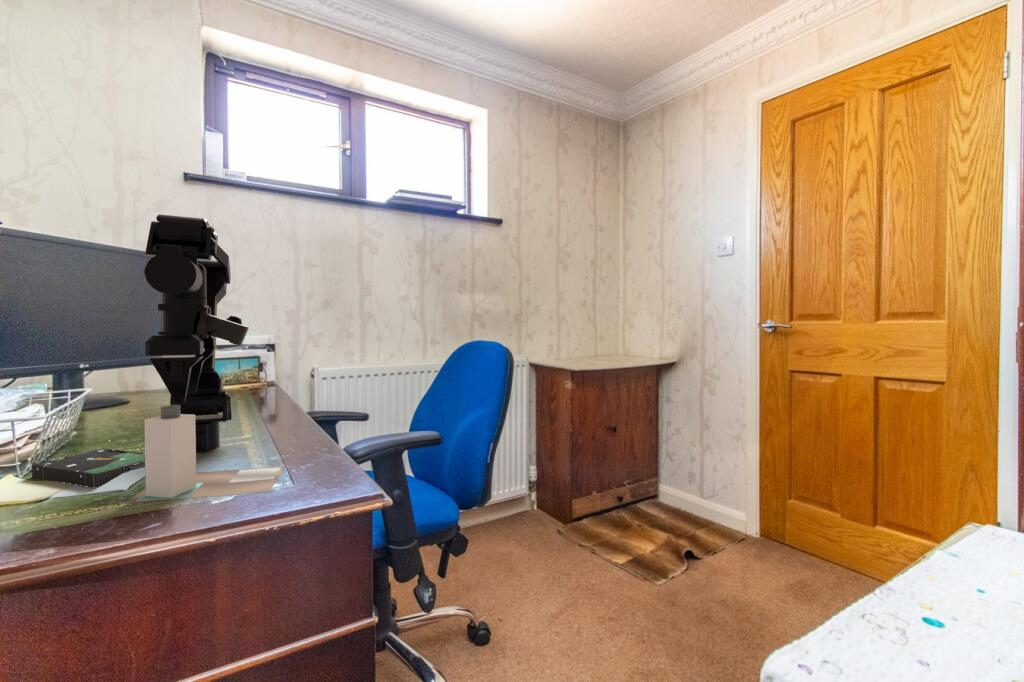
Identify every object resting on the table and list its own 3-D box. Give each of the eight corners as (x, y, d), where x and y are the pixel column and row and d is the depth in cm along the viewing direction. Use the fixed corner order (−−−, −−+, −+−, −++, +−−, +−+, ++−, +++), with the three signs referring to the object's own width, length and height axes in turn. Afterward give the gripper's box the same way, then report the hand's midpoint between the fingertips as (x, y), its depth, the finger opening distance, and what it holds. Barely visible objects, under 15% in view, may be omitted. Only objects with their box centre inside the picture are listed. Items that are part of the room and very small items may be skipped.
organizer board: (164, 482, 71) (164, 474, 71) (285, 473, 76) (285, 465, 75) (124, 513, 59) (123, 504, 59) (269, 500, 64) (269, 491, 64)
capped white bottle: (171, 485, 66) (170, 403, 65) (196, 487, 65) (195, 404, 65) (145, 495, 62) (144, 408, 61) (172, 497, 61) (170, 409, 61)
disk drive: (29, 482, 72) (95, 491, 68) (28, 464, 72) (94, 473, 68) (104, 462, 82) (165, 470, 78) (103, 447, 82) (164, 453, 78)
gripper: (240, 297, 66) (241, 404, 66) (248, 302, 82) (249, 388, 83) (143, 294, 61) (145, 410, 61) (173, 300, 77) (174, 391, 78)
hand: (186, 398), depth 71 cm, fingers open, 9 cm apart
